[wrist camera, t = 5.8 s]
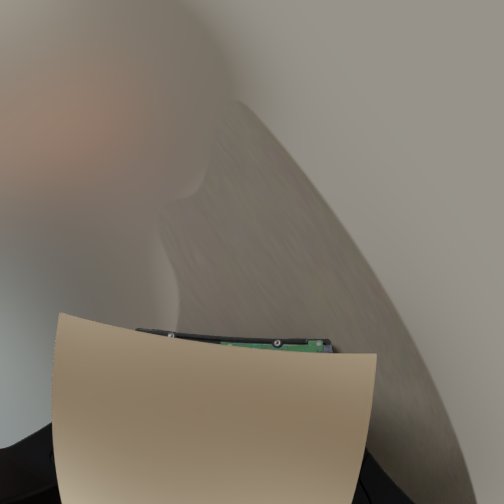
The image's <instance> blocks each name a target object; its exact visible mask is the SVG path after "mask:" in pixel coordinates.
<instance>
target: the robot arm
mask: <svg viewBox="0 0 504 504" xmlns="http://www.w3.org/2000/svg"><path fill="white" fill-rule="evenodd" d="M0 504H62V502H61V497H60V492H59V486H58V480H57V474H56V466H55V458H54V447H53V433H52V422H51V423H49V424H48V425H46V426H45V427H43V428H42V429H40V430H38V431H37V432H35V433H33V434H31V435H30V436H28V437H26V438H24V439H23V440H21V441H19V442H17V443H15V444H14V445H11V446H9V447H6V448H2V449H0ZM351 504H415V503H414V502H413V501H412V500H411V499H410V498H409V497H408V496H407V495H406V494H405V493H404V492H403V491H402V490H401V489H400V488H399V487H398V486H397V485H396V484H395V483H394V482H393V481H392V479H391V478H390V477H389V476H388V475H387V474H386V473H385V472H384V470H383V469H382V468H381V467H380V465H379V464H378V463H377V461H376V460H375V459H374V457H373V456H372V454H371V453H370V452H368V449H367V448H366V446H365V450H364V455H363V459H362V464H361V469H360V473H359V477H358V481H357V485H356V489H355V493H354V496H353V500H352V503H351Z"/></svg>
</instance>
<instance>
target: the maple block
mask: <svg viewBox="0 0 504 504" xmlns="http://www.w3.org/2000/svg"><path fill="white" fill-rule="evenodd" d="M376 358H377V354H342V353H313V352H295V351H281V350H269V349H257V348H247V347H237V346H229V345H220V344H213V343H205V342H198V341H192V340H185V339H179V338H172V337H167V336H161V335H155V334H150V333H145V332H139V331H135V330H130V329H125V328H120V327H116V326H111V325H107V324H102V323H99V322H94V321H90V320H86V319H82V318H79V317H75V316H71V315H68V314H64V313H61V312H60V314H59V320H58V326H57V334H56V342H55V351H54V362H53V377H52V433H53V447H54V458H55V466H56V474H57V480H58V486H59V492H60V497H61V502H62V504H351V503H352V500H353V496H354V493H355V489H356V485H357V481H358V477H359V473H360V469H361V464H362V459H363V455H364V450H365V445H366V439H367V433H368V428H369V421H370V415H371V407H372V400H373V391H374V382H375V371H376Z"/></svg>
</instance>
